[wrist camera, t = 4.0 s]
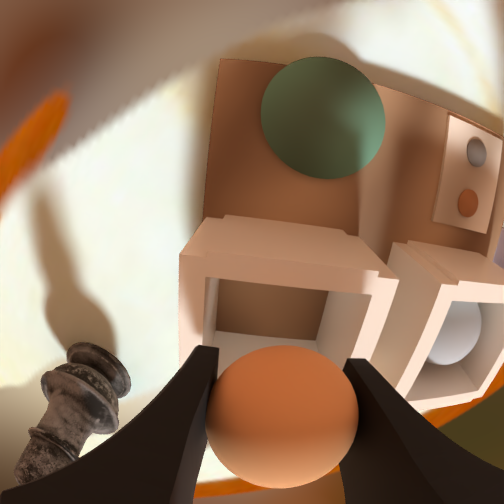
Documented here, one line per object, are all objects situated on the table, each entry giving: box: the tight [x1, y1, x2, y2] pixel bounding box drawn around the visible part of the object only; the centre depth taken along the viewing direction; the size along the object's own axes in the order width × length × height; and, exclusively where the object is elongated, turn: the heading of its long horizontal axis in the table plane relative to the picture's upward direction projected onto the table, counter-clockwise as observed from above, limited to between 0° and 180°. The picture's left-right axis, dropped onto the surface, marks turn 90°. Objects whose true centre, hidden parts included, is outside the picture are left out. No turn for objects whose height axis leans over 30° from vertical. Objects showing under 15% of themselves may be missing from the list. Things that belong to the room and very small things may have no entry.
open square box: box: [369, 240, 504, 411], centre depth 12 cm, size 7×7×4 cm
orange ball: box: [205, 345, 359, 488], centre depth 7 cm, size 4×4×4 cm
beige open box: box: [179, 215, 399, 379], centre depth 12 cm, size 7×7×4 cm
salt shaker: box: [14, 343, 131, 485], centre depth 12 cm, size 6×6×12 cm
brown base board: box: [202, 57, 504, 341], centre depth 13 cm, size 16×14×2 cm
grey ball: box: [425, 301, 482, 365], centre depth 12 cm, size 4×4×4 cm
